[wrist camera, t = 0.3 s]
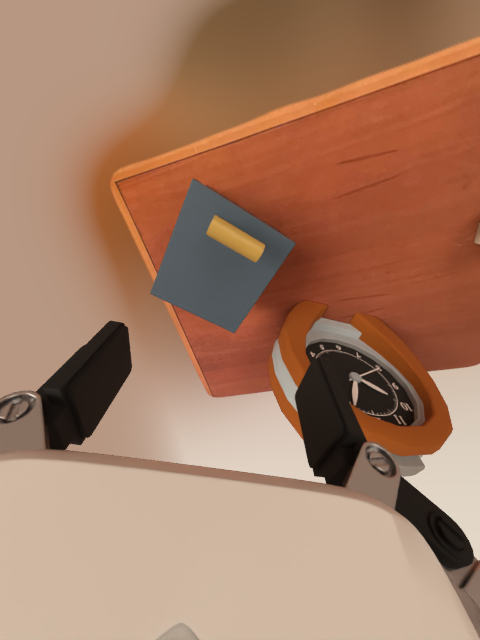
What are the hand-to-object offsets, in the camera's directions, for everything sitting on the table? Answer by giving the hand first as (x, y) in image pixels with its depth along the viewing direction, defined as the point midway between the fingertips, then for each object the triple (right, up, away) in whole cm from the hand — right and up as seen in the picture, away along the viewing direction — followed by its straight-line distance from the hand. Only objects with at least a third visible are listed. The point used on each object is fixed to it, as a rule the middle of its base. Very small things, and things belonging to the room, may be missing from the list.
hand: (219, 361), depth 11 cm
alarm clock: (+18, 0, +29) cm, 34 cm away
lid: (-1, +8, +14) cm, 16 cm away
